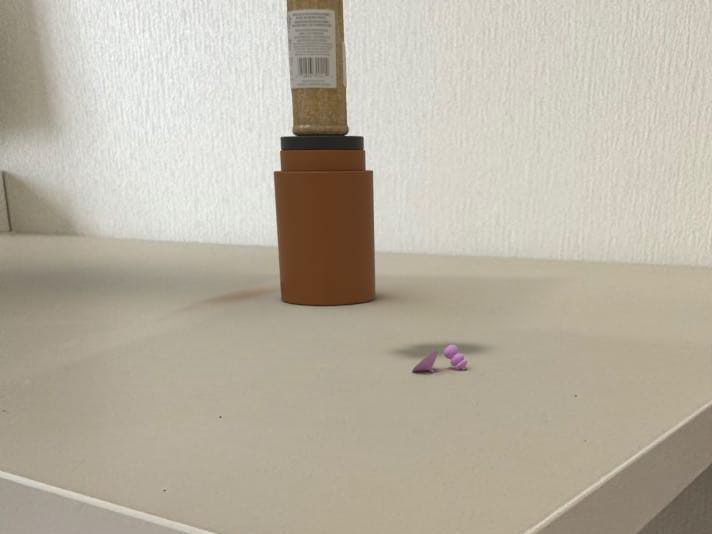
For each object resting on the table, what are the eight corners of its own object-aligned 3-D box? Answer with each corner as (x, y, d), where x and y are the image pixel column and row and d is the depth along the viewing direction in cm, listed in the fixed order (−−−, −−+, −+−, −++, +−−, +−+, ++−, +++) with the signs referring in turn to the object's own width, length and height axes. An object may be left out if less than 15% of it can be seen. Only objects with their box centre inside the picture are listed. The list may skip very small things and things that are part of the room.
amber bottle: (265, 303, 72) (254, 136, 67) (303, 290, 79) (295, 138, 74) (356, 307, 70) (352, 135, 65) (387, 293, 77) (385, 136, 72)
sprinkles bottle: (358, 136, 71) (353, -62, 65) (332, 135, 67) (324, -76, 62) (308, 137, 72) (300, -57, 67) (280, 136, 69) (268, -69, 63)
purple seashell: (426, 398, 50) (434, 386, 48) (409, 376, 50) (416, 363, 48) (465, 372, 51) (475, 359, 49) (449, 350, 51) (457, 336, 49)
